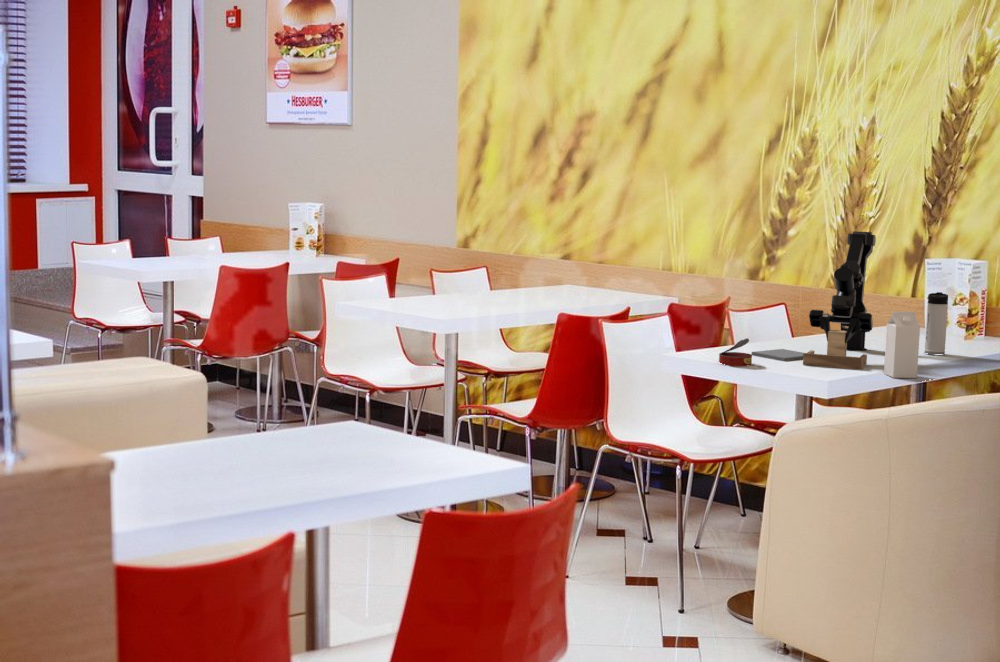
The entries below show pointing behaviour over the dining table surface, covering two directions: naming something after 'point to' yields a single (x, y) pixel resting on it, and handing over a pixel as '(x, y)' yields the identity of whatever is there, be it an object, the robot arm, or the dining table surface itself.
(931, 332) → the travel mug
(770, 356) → the mat
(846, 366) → the tray
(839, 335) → the packed blank
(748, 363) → the canned food
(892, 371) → the milk carton
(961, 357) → the dining table surface
